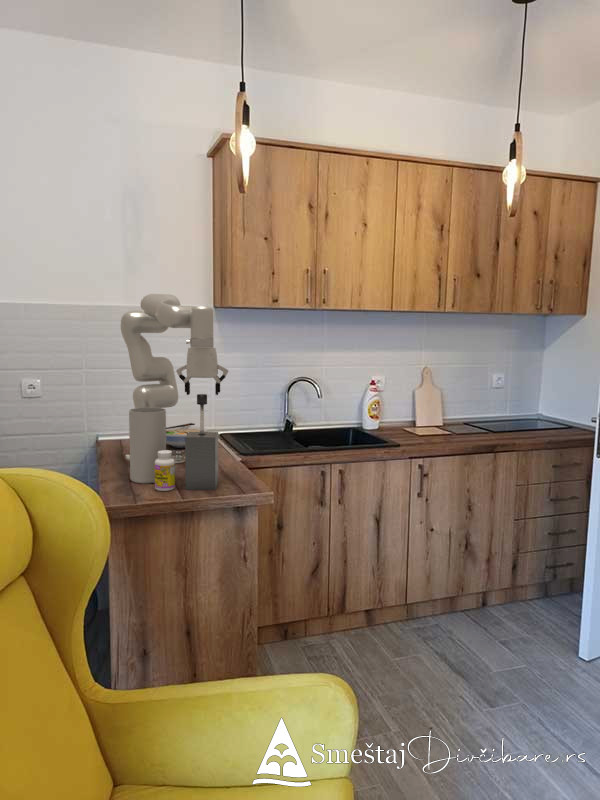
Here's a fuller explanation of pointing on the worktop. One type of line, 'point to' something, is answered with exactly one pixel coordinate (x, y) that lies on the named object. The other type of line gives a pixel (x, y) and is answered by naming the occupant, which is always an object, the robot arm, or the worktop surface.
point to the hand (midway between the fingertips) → (202, 394)
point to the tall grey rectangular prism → (201, 461)
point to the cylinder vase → (146, 442)
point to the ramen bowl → (180, 434)
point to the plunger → (201, 410)
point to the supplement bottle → (164, 471)
